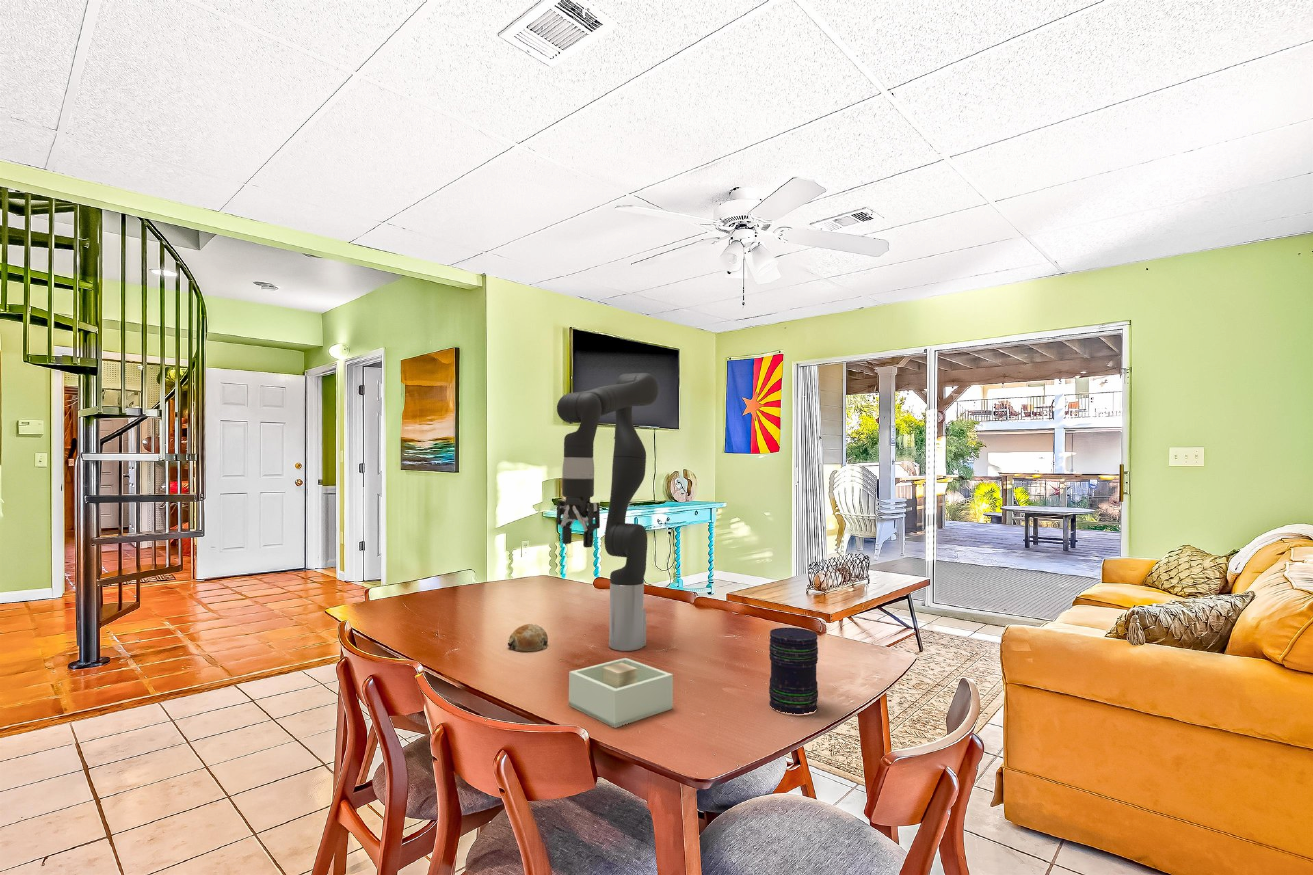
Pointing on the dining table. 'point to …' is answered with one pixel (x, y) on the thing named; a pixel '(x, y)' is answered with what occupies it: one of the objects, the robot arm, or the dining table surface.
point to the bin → (621, 694)
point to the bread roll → (528, 638)
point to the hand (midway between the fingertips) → (577, 545)
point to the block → (619, 675)
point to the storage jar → (793, 670)
